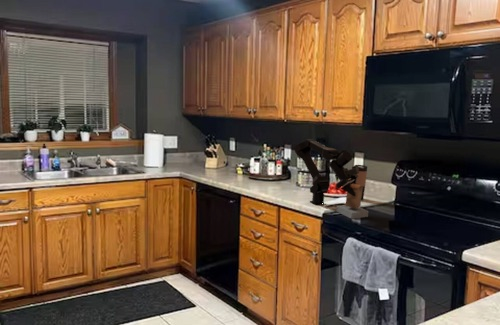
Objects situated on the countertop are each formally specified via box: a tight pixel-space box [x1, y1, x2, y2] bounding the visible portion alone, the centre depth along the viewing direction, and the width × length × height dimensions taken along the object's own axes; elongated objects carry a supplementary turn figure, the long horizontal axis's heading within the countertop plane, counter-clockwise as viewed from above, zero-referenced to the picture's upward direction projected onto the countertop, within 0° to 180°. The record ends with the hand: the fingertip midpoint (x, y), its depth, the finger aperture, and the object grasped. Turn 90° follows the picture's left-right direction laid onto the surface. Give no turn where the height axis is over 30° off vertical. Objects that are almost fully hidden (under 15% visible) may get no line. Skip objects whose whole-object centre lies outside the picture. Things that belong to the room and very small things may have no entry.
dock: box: [336, 204, 369, 219], centre depth 233 cm, size 12×11×3 cm
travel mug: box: [354, 164, 368, 201], centre depth 262 cm, size 8×8×20 cm
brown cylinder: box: [344, 186, 363, 209], centre depth 231 cm, size 6×6×10 cm
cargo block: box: [351, 184, 360, 189], centre depth 230 cm, size 4×4×3 cm
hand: (356, 194), depth 230 cm, fingers closed on brown cylinder, 6 cm apart
